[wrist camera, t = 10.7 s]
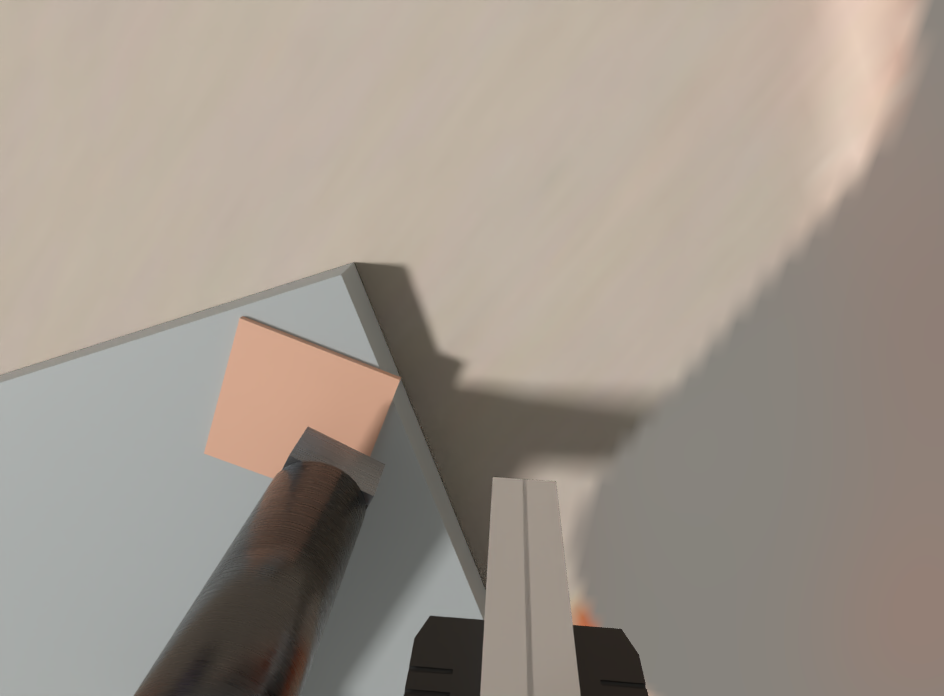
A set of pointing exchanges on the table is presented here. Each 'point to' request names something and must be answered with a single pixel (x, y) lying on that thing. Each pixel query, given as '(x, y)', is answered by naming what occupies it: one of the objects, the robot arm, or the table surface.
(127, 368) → the board
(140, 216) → the table surface
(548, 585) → the robot arm
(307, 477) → the lever
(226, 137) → the table surface
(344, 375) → the plate
